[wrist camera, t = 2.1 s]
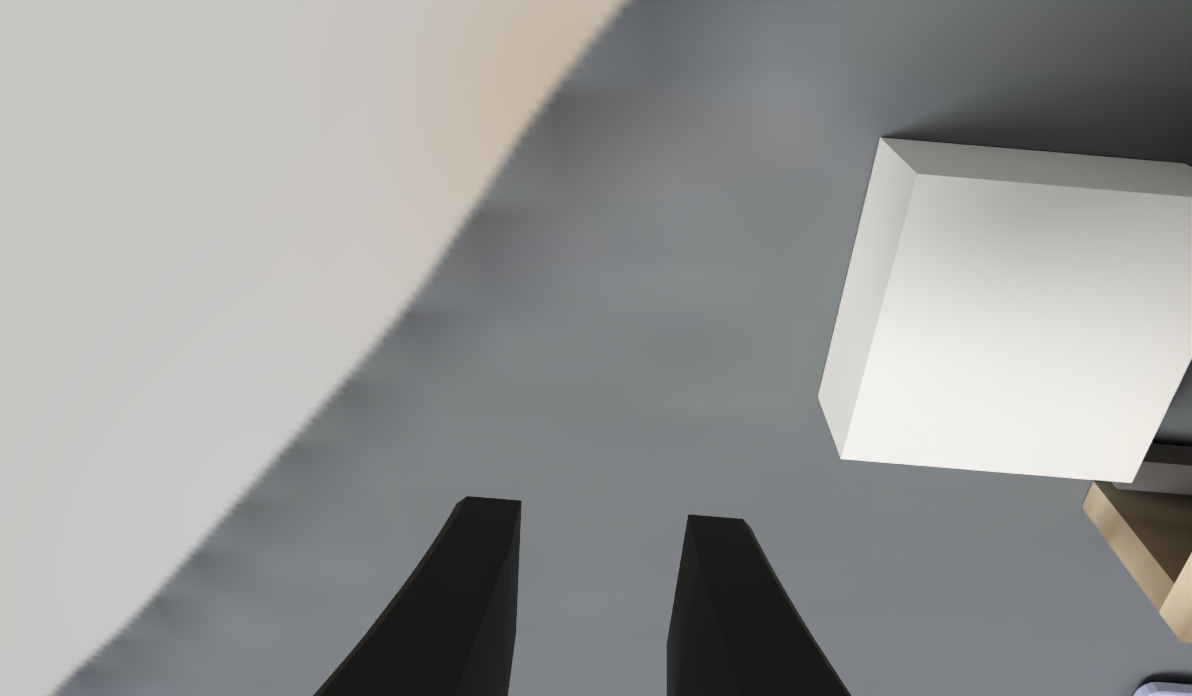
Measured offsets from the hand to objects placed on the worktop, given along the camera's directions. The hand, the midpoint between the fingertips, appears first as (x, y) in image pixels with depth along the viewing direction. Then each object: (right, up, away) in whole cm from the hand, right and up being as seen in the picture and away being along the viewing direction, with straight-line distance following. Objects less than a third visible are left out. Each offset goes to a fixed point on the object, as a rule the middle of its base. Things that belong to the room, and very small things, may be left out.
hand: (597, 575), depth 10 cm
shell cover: (+8, +4, +8) cm, 12 cm away
